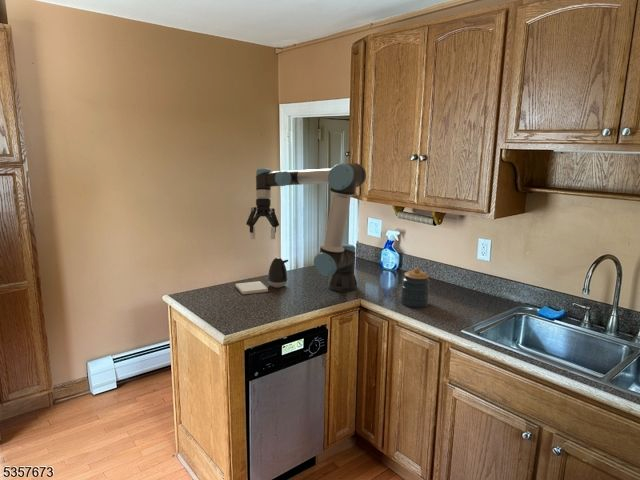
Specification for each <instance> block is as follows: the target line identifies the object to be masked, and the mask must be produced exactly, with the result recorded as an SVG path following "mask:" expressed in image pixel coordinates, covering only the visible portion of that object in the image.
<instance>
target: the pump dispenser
mask: <svg viewBox="0 0 640 480" xmlns="http://www.w3.org/2000/svg"><path fill="white" fill-rule="evenodd" d="M287 262H289V259H285V260H284V259H282V258H281V257H275V258H274V259H273V260H272V261H271V262H270V263H271V264H270V265H269V269H268V272H267V273H268V274H267V281H268V283H269V285H270V286H271V287H272V288H276V289H279V288H284V286H286V284H287V281H288V279H289V278H288V277H289V276H288V271H287V267H286V264H285V263H287Z"/></svg>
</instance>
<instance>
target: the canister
mask: <svg viewBox="0 0 640 480" xmlns="http://www.w3.org/2000/svg"><path fill="white" fill-rule="evenodd" d="M429 277H430V276H429V274H428V273H426V272H425V271H422V270H421V269H420V268H419V267H414V269H411V270H408V271H406V272H404V276H403V277H402V278H401V280H402V284H401V293H400V303H401V304H402V305H404V306H405V307H409V308H413V309H414V308H416V309H422V308H425V307H428V304H429V296H430V294H429V293H430V286H429V285H430V283H431V280H430V279H429Z"/></svg>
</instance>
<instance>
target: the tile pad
mask: <svg viewBox="0 0 640 480" xmlns="http://www.w3.org/2000/svg"><path fill="white" fill-rule="evenodd" d="M235 288H236V289H237V291H239V292H240V294H241V295H249V294H257V293H258V294H259V293H266V292H269V289H268V287H267V286H266V285H265V284H264V283H263V282H261V281H260V280H259V281H248V282H241V283H239V282H238V283H235Z"/></svg>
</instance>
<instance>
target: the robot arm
mask: <svg viewBox="0 0 640 480" xmlns="http://www.w3.org/2000/svg"><path fill="white" fill-rule="evenodd" d="M366 179H367V172H366V169H365V168H364V166H363V165H362V164H359V163H355V162H353V163H351V162H349V163H347V162H342V163H337V164H335V165H334V166H332V167H331V168H318V169H316V168H314V169H300V170H299V169H295V170H276V171H271V169H270V168H264V167H263V168H258V169H256V174H255V184H256V185H255V188H256V189H255V198H256V199H255V207H254V206H253V207H251V209H250V210H251V211H250V213H249V216H248V218H247V221H246V226H248V227H249V233H250V240H256V226H255V225H256V224H257V222H258V220H259V218H261V217H265V218H266V219H267V220H268V222H269V224H270V225H271V227H270V240H276V234H277V233H276V232H277V227H279V226H280V223H279V220H278V218H277V217H278V216H277V215H276V210H275V208H270V207H271V196H272V195H271V190H272V189H271V188H272V187H285V186H294V185H295V186H297V185H327V184H328V185H329V186H330V188H329V191H330V193H331V194H332V195H331V196H332V197H331V202H330V208H329V213H328V219H327V225H326V229H325V230H326V231H325V235H324V236H325V237H324V242H323V243H321V244H320V249H319V252H318V253H317V254H316V255H314V259H313V264H314V268H315V269H316V271H317V272H318V273H319V274H320V275H322V276H325V277H326V276H330V277H329V280H328V282H327V283H328V284H327V288H328V289H329V290H332V291H333V292H334V291H336V292H343V293H346V292H347V293H349V292H355V291H356V290H357V288H358V282H357V279H356V275H355V270H356V269H355V268H356V266H355V265H356V254H357V252H356V251H357V249H356V246H355V245H353V244H349V243H343V241H344V237H345V230H346V225H347V218H348V213H349V208H350V204H351V199H352V197H353V196H354V195H355V194H356V189H357V188H359V187H361V186H363V184H364V183H365V181H366Z"/></svg>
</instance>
